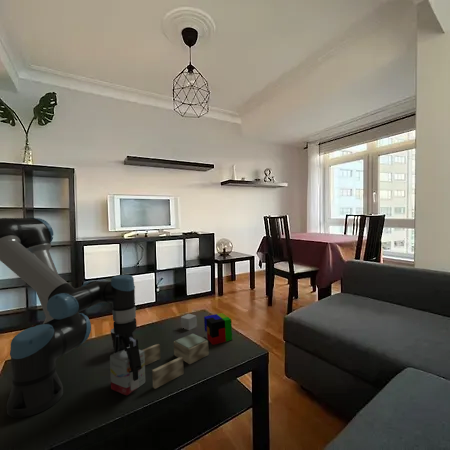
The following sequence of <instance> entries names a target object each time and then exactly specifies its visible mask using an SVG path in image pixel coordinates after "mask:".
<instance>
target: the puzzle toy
mask: <svg viewBox="0 0 450 450" xmlns="http://www.w3.org/2000/svg"><path fill="white" fill-rule="evenodd" d="M203 321H204V322H203V324H204V337H205V339H206V340H207V341H208V343H210V344H211V345H212V346H213V345H218V344H223V343H226V342H229V341H232V340H233V326H232V318H230V317H229V316H228V315H226V314H225V313H223V312H221V313H215V314H211V315H205V316H203Z"/></svg>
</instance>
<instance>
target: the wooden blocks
mask: <svg viewBox="0 0 450 450" xmlns="http://www.w3.org/2000/svg"><path fill="white" fill-rule="evenodd" d="M142 350H143V351H144V357H145V367H146V366H148V365H149V364H152V363H154V362H156V361H159V360H161V344H159V343H156V344H154V345H150V346H148V347H146V348H144V349H142ZM173 354H174V356H175V357H176V358H175V359H173V360H170V361H169V362H166V363H164V364H162V365H159V366H158V367H155V368H154V369H153V368H152V369H151V370H152V371H151V375H152V376H151V377H152V388H153V389H154V390H156V389H158V388H159V387H161V386H164V385H165V384H167V383H169V382H171V381H172V380H173V381H174V380H175V379H176V378H178V377H180V376H182V375H184V372H185V369H184V362H185V363H187V364H188V365H191V364H193V363H195V362H198V361H199V360H201V359H203V358H205V357H207V356H209V340H208V339H207V338H204V337H202V336H200V335H197V334H195V333H191V334H188V335H185V336H183V337H181V338H178V339H176V340H174V341H173Z"/></svg>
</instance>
